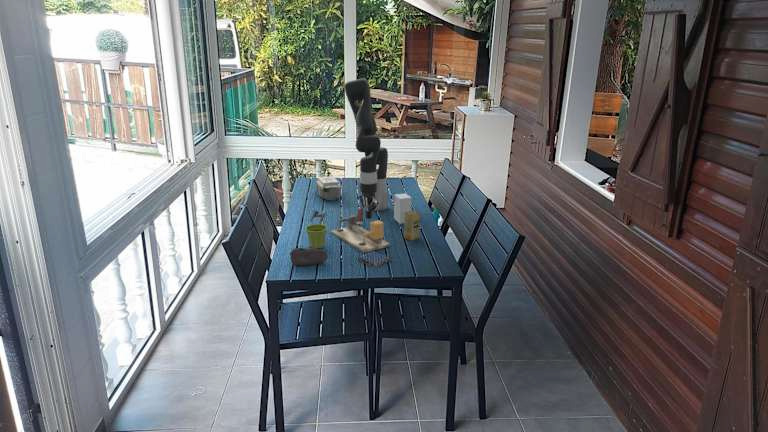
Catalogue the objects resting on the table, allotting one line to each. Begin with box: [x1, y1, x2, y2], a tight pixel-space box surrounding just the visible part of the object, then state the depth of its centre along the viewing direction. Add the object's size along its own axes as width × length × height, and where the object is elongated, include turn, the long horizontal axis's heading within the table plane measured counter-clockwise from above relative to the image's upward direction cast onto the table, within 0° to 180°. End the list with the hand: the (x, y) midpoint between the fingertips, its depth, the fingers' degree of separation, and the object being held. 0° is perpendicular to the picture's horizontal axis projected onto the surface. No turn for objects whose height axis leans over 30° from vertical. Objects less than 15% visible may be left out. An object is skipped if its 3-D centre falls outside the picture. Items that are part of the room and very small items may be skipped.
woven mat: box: [357, 250, 392, 269], centre depth 210 cm, size 10×11×2 cm
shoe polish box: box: [403, 210, 421, 241], centre depth 232 cm, size 5×5×12 cm
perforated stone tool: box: [289, 247, 329, 266], centre depth 205 cm, size 15×5×7 cm, turn 100°
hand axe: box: [346, 207, 364, 227], centre depth 260 cm, size 27×2×10 cm
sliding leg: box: [363, 219, 385, 243], centre depth 222 cm, size 9×4×8 cm, turn 124°
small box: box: [393, 193, 413, 225], centre depth 254 cm, size 8×6×13 cm
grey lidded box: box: [315, 175, 342, 201], centre depth 294 cm, size 12×28×10 cm, turn 17°
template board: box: [331, 214, 391, 254], centre depth 230 cm, size 14×28×7 cm, turn 34°
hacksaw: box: [309, 210, 328, 225], centre depth 256 cm, size 24×10×2 cm, turn 177°
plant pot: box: [305, 223, 328, 249], centre depth 222 cm, size 9×9×9 cm
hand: (368, 218), depth 228 cm, fingers closed
